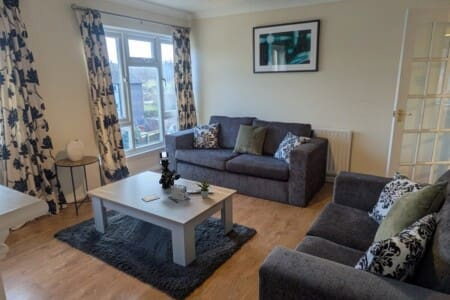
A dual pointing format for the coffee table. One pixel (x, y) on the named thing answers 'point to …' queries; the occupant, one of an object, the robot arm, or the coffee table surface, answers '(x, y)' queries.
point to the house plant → (204, 188)
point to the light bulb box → (179, 192)
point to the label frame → (175, 200)
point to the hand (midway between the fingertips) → (173, 187)
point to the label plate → (150, 198)
